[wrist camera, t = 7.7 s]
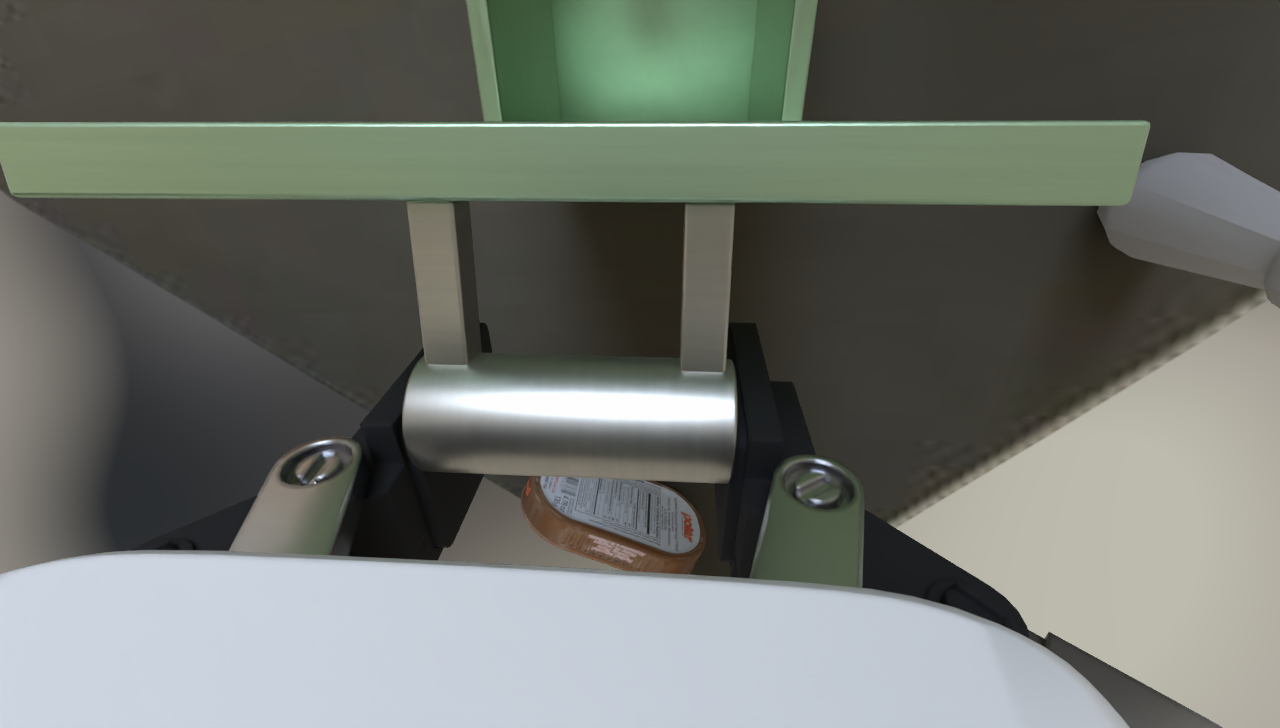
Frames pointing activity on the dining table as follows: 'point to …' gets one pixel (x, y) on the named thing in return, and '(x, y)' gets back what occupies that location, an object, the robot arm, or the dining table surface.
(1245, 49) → the dining table surface
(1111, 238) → the salt shaker
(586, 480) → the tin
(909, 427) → the dining table surface
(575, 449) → the bin lid
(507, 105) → the bin
